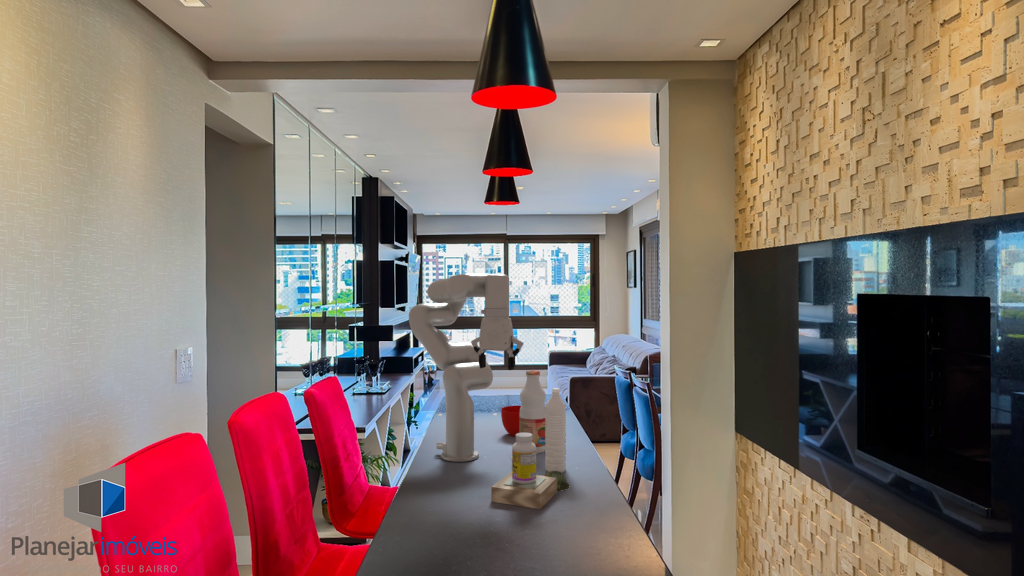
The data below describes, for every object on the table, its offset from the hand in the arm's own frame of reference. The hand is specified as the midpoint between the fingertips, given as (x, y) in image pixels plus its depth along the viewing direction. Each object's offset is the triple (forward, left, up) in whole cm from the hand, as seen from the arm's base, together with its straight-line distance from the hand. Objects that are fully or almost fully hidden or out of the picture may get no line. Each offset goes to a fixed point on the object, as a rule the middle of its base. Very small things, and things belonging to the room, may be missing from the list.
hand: (496, 368), depth 188 cm
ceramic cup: (-11, +48, -32) cm, 59 cm away
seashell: (+20, -5, -33) cm, 39 cm away
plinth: (+16, -17, -32) cm, 40 cm away
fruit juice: (+2, +27, -32) cm, 42 cm away
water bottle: (+16, +10, -32) cm, 38 cm away
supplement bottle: (+16, -17, -28) cm, 36 cm away
